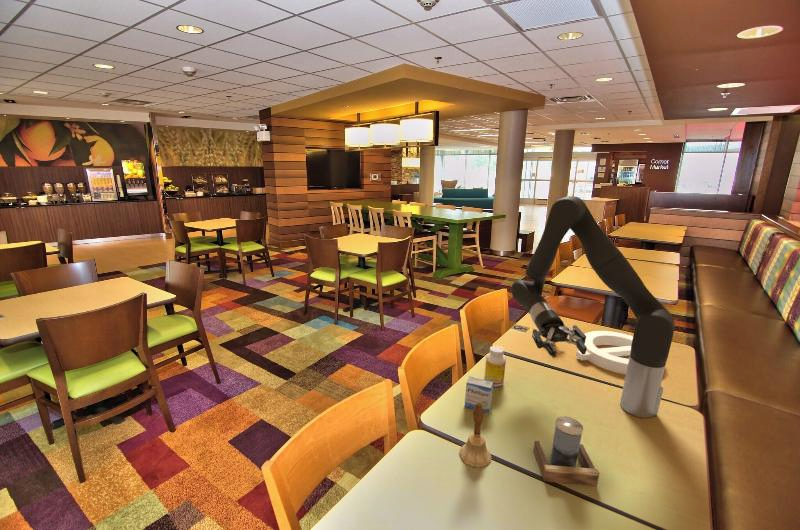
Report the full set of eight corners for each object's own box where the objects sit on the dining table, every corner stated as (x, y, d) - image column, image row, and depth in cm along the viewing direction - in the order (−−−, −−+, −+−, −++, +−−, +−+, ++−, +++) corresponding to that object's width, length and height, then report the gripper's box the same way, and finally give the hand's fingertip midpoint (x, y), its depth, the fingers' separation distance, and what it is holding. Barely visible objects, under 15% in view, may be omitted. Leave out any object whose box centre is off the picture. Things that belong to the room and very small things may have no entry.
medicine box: (464, 406, 118) (465, 382, 116) (467, 398, 122) (468, 375, 120) (489, 413, 115) (491, 388, 113) (491, 404, 119) (494, 381, 117)
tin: (570, 456, 99) (577, 417, 95) (579, 475, 93) (587, 434, 90) (546, 454, 99) (552, 415, 96) (553, 473, 93) (560, 432, 90)
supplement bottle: (504, 388, 128) (507, 354, 124) (484, 386, 129) (487, 352, 125) (502, 377, 134) (506, 345, 130) (483, 375, 135) (486, 343, 132)
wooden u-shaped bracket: (580, 453, 100) (583, 441, 99) (596, 485, 90) (599, 472, 89) (533, 450, 101) (534, 438, 100) (544, 481, 91) (545, 468, 90)
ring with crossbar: (659, 353, 154) (661, 342, 153) (659, 385, 132) (662, 373, 130) (585, 335, 169) (586, 325, 167) (573, 361, 146) (575, 350, 145)
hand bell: (485, 472, 93) (490, 418, 89) (454, 459, 97) (458, 406, 93) (495, 451, 100) (501, 400, 96) (466, 439, 104) (470, 389, 100)
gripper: (525, 311, 118) (546, 346, 103) (569, 307, 118) (597, 340, 104) (522, 330, 121) (543, 366, 107) (565, 325, 122) (592, 361, 108)
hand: (569, 353), depth 106 cm, fingers open, 8 cm apart
